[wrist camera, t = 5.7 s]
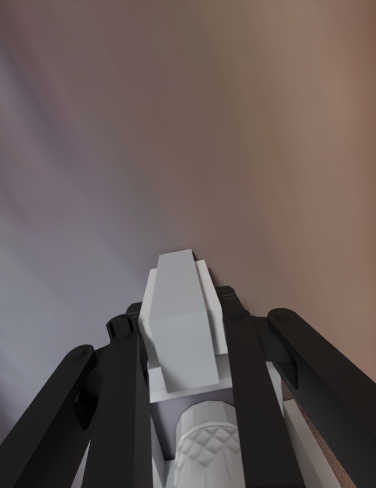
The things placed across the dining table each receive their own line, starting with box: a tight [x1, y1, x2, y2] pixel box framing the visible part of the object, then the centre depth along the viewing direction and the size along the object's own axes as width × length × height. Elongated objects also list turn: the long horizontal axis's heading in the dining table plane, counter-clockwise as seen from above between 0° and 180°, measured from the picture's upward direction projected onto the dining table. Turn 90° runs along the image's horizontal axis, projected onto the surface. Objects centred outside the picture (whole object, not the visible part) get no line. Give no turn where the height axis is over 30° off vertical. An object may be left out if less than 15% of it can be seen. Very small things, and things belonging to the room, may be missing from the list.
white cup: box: [173, 401, 245, 488], centre depth 19 cm, size 8×8×10 cm
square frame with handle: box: [148, 249, 284, 488], centre depth 17 cm, size 24×13×9 cm, turn 10°
